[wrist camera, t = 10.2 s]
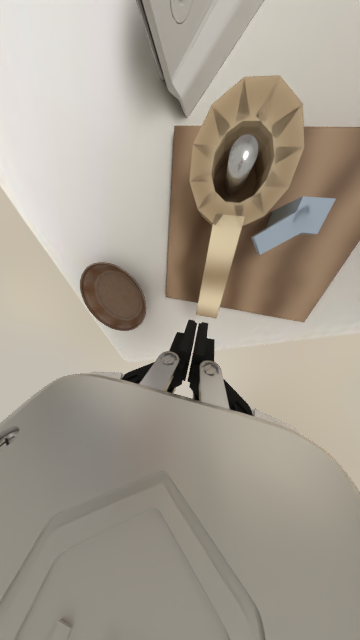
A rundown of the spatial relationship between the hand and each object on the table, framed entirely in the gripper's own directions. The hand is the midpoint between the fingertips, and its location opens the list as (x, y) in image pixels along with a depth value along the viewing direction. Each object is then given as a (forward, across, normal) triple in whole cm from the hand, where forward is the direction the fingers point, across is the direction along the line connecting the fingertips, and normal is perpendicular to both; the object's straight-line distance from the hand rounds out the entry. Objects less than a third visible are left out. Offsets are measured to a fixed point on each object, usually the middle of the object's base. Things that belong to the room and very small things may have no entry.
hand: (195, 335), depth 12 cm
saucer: (+16, +18, +5) cm, 25 cm away
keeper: (+15, -6, -9) cm, 19 cm away
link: (+14, -1, -8) cm, 16 cm away
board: (+15, -5, -7) cm, 18 cm away
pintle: (+15, -1, -13) cm, 20 cm away
